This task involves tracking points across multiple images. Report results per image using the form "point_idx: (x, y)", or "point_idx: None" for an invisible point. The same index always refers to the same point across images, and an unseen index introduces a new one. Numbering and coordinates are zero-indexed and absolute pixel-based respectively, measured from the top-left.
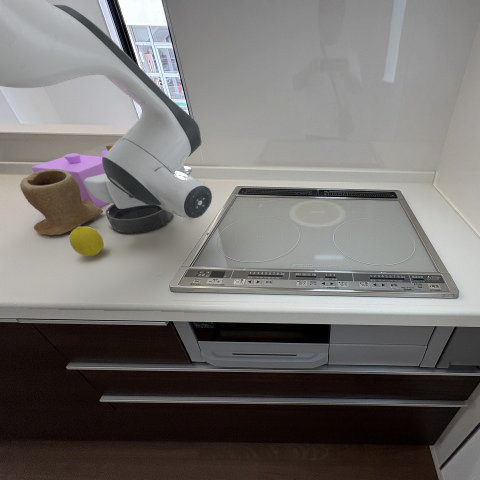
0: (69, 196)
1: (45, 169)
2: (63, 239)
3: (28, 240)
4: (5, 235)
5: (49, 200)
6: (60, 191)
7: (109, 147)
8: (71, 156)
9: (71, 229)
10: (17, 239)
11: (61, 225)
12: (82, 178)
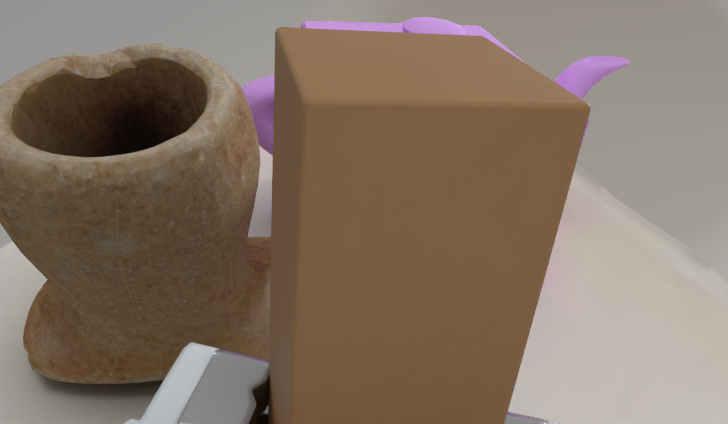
0: (110, 256)
1: None
2: (22, 410)
3: (8, 300)
4: None
5: (9, 229)
6: (60, 214)
7: (284, 76)
8: (422, 31)
9: (89, 383)
10: (16, 266)
11: (70, 340)
12: None
